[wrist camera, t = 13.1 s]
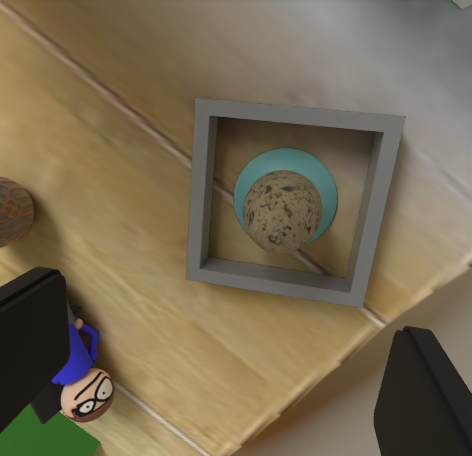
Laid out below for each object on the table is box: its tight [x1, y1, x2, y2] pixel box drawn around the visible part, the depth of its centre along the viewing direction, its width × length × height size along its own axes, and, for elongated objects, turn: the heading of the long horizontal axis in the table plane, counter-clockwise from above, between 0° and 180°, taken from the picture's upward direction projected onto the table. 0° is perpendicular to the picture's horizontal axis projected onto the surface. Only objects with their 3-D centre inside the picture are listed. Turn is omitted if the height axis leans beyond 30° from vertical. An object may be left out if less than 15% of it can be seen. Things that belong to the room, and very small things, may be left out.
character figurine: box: [30, 297, 114, 424], centre depth 36 cm, size 8×7×15 cm
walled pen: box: [186, 98, 406, 308], centre depth 29 cm, size 15×15×3 cm
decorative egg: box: [243, 170, 322, 253], centre depth 26 cm, size 6×6×10 cm
